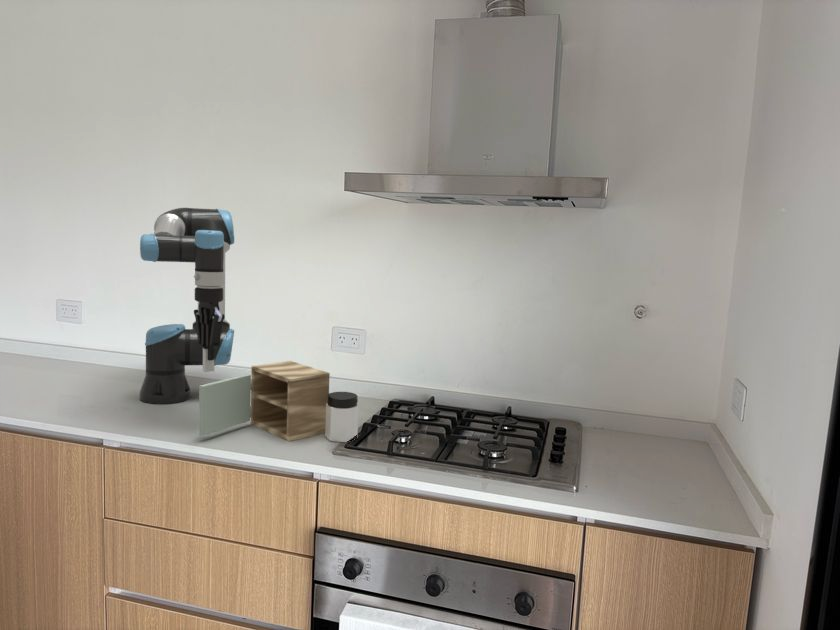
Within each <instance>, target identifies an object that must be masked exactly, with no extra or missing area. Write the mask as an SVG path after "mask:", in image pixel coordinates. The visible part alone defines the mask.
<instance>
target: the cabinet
mask: <svg viewBox="0 0 840 630" xmlns="http://www.w3.org/2000/svg"><path fill="white" fill-rule="evenodd" d="M250 372H251V373H250V375H251V379H252V390H251V397H250V406H252V415H251V417H250V425H253V426H255V427H257V428H259V429H261V430H263V431H266V432H268V433H270V434H272V435H275V436H276V437H279V438H281V439H283V440H285V441H288V442H292V441H295V440H299V439H303V438H308V437H311V436H317V435H320V434H325V424H326V404H327V403H328V394H330V377H331V376H330V375H331V374H330V372H328V371H325V370H322V369H318V368H315V367H312V366H308V365H305V364H301V363H299V362H296V361H292V360H286V361H285V360H284V361H278V362H272V363H271V362H270V363H264V364H256V365H251V371H250Z"/></svg>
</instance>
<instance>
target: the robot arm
mask: <svg viewBox="0 0 840 630" xmlns="http://www.w3.org/2000/svg"><path fill="white" fill-rule="evenodd" d="M234 231H235V230H234V223H233V216H232V214H231V212H230V211H228V210H225V209H219V208H197V207H196V208H193V207H178V208H174V209H171V210H168V211H165V212H163V213H162V214H160V215H159V216H158V217H157V218H156V219H155V221H154V225H153V233H149V234H147V233H146V234H142V235H141V237H140V241H139V242H140V243H139V249H140V250H139V251H140V252H139V254H140V258H141V260H143V261H145V262H153V263H155V262H166V263H168V262H169V263H170V262H171V263H173V262H174V263H193V264H194V275H193V278H194V285H195V286H196V287H195V288H194V301H196V302H197V309H193V315H194V317H195V321H193V323H192V328H191V329H190V328H187V329H186V326H185V325H184V324H183V323H178V324H177V323H172V324H163V325H158V326H154V327H152V328H151V327H150V328H149V329H148V330H146V331H147V332H146V334H145V343H144V346H145V376H144V379H143V382H142V385H141V388H140V391H139V400H140V401H142V402H144V403H146V404H147V403H148V404H156V405H159V404H160V405H163V404H166V405H167V404H175V403H181V402H185V401H187V400H189V399H190V398H191V395H192V394H191V388H190V384H189V381H188V379H187V376H186V368H185V367H186V366H202V372H204V373H209V372H215V366H224V365H228V364H229V363H230V361H231V357H232V351H233V343H234V337H235V330H234V329H233V328H230V327H231V325H230V322H228V321H227V320H226V253H227V252H228V251H229V250H230V249H231V246H232V245H234V244H235V232H234Z"/></svg>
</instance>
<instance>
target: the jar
mask: <svg viewBox="0 0 840 630" xmlns="http://www.w3.org/2000/svg"><path fill="white" fill-rule="evenodd" d="M358 426H359V405H358V395H357V394H356V393H354V392H350V391H333V392H329V394H328V403H327V404H326V424H325V433H324V436H325V438H326V439H327V440H328V441H330V442H333V443H335V442H337V443H348V442H347V441H349V440H350V439H351V438H353V437H354V436H356V435H357V436H358V428H359V427H358ZM349 442H350V441H349Z"/></svg>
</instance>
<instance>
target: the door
mask: <svg viewBox="0 0 840 630" xmlns="http://www.w3.org/2000/svg"><path fill="white" fill-rule="evenodd" d="M251 390H252V379H251V374H248V373H246V374H242V375H237V376H233V377H230V378H225V379H221V380H217V381H213V382H209V383H205V384H201V385H199V386H198V398H199V399H198V435H199V436H203V437H204V436H207V435H210V434H213V433H216V432H219V431H223V430H225V429H229V428H232V427H234V426H237V425H241V424H243V423H246V422H251V415H252V406H251Z"/></svg>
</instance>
